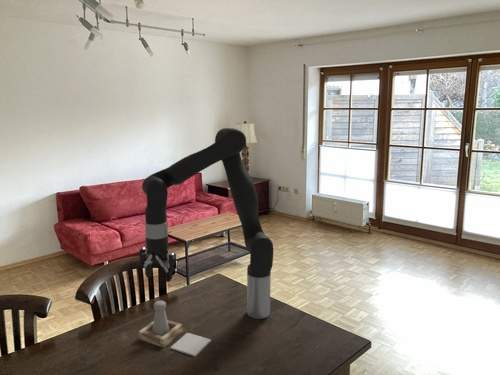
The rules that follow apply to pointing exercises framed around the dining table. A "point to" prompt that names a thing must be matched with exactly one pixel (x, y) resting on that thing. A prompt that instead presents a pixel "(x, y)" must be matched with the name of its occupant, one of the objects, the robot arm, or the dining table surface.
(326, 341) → the dining table surface
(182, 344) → the felt pad
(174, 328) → the oak collar
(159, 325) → the salt shaker
